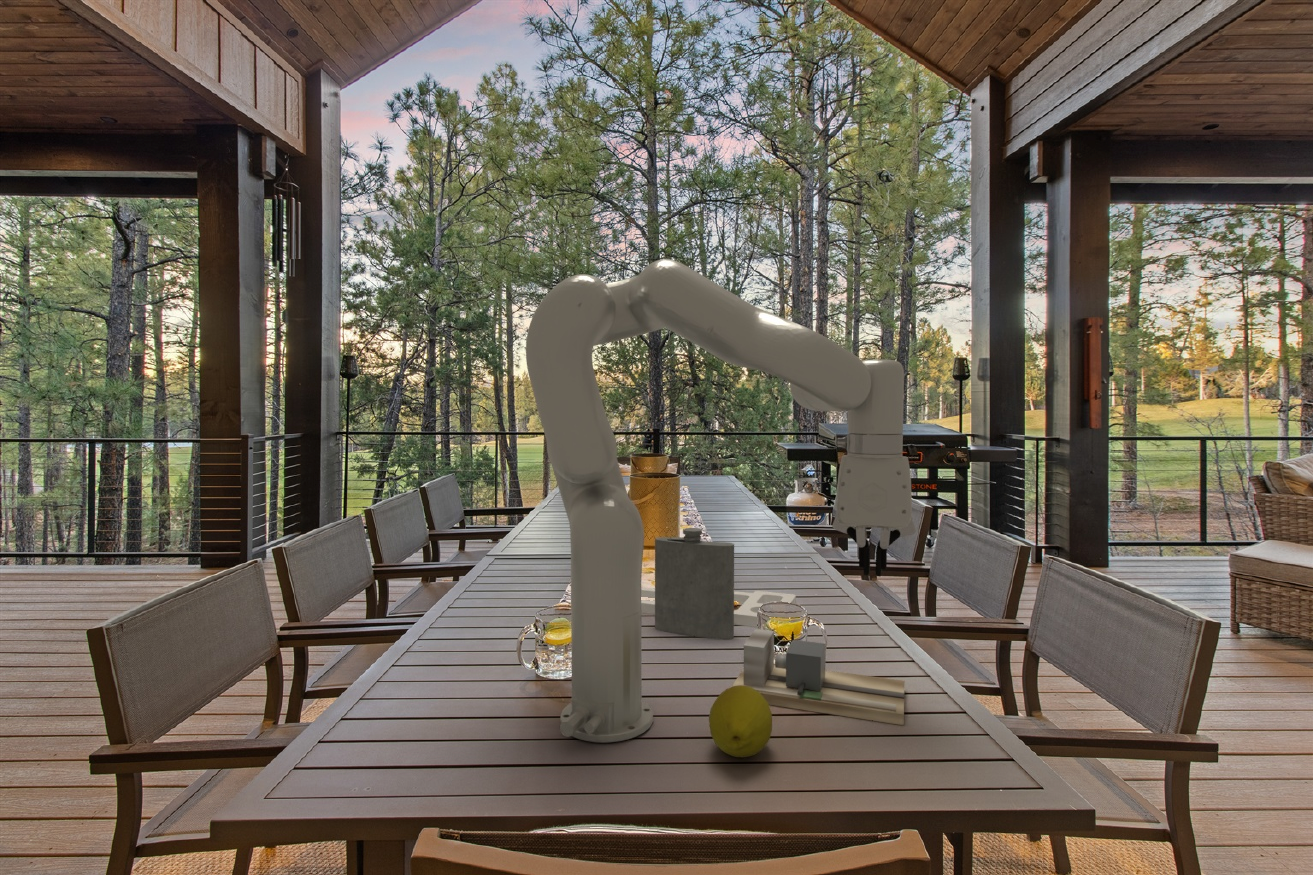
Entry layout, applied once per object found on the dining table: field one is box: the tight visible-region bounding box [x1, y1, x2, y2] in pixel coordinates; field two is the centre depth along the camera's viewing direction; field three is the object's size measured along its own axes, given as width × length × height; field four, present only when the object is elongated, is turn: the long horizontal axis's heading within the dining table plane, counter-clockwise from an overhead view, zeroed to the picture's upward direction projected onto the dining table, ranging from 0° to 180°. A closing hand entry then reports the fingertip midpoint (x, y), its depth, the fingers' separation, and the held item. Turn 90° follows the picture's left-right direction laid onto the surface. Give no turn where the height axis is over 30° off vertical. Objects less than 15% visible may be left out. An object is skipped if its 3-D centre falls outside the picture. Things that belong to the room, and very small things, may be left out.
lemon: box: [708, 685, 773, 758], centre depth 84 cm, size 11×8×8 cm
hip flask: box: [654, 527, 735, 641], centre depth 129 cm, size 16×4×20 cm, turn 65°
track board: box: [731, 628, 906, 726], centre depth 101 cm, size 12×24×8 cm, turn 69°
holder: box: [641, 586, 797, 628], centre depth 148 cm, size 45×18×3 cm, turn 68°
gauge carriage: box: [774, 639, 827, 696], centre depth 101 cm, size 9×7×5 cm
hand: (872, 573), depth 98 cm, fingers closed
